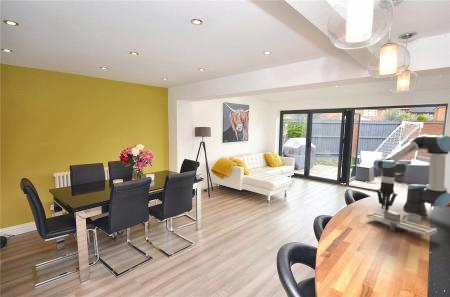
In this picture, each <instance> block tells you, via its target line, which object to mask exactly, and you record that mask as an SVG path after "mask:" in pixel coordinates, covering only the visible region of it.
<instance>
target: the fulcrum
mask: <svg viewBox="0 0 450 297" xmlns="http://www.w3.org/2000/svg"><path fill="white" fill-rule="evenodd" d="M400 220H404V221H407V219H406V218H405V219H402V218H400ZM402 230H404V229H403V228H400V227H397V226H396V224H395V223H393V222H390V224H389V231H390V232H391V233H395V234H396V232H399V231H402Z"/></svg>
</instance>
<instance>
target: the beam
mask: <svg viewBox="0 0 450 297" xmlns="http://www.w3.org/2000/svg"><path fill="white" fill-rule="evenodd" d="M366 218H369V219H372V220H374V221H379V222H381V223H383V224H388V225H390V222H393V223H395V224H396V226H397V227H400V228H403V229H402V230H407V231H409V232H412V233H416V234H419V235H422V236H426V237H431V236H432V235H433V234H436V233H438V228H435V227H434V228H432V227H428V226H425V225H422V224H420V225H418V224H414V223H411V222H407V221H404V220H401V219H400V222H397V221H393V220H390V219H386V218H384V215H383V214H382V213H379V212H378V211H372V212H369V213H367V214H366Z"/></svg>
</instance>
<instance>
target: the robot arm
mask: <svg viewBox="0 0 450 297" xmlns="http://www.w3.org/2000/svg"><path fill="white" fill-rule="evenodd" d="M419 150H426V152H427V154H428V155H429V165H428V166H429V168H428V172H429V173H428V185H426V184H419V183H411V184H408V185H407V190H406V191H407V194H406V201H405V203H404V205H403V207H402V210H403V211H404V212H407V213H413V214H417V215H420V216H425V215H427V214H428V213H427V212H428V210H427V208H426V204H430V205H433V206H435V207H440V208H443V207H446V206H448V205H449V203H450V193H449V192H448V189H447V188H446V187H445V182H446V181H445V178H446V177H445V176H446V174H445V173H446V157H447V155H449V152H450V136H448V135H444V134H420V135H418V136H415V137H413V138H410V139H409V140H407V141H406V142H405V144H403V145H402V146H401V147H399V148H397V149H396V150H394V151H392V152H391V153H390V154H388V155H387V156H385V157H384V158H382V159H375V160H374V161H373V168H375V169H377V170H381V178H380V179H381V181H380V187H379V189H376V193H377V198H378V203H379V204H380V205H381V210H382V213H381V214H383V215H384V211H389V209H390V207H392V206H393V204H394V202H395V200H396V197H397V196H398V193H395V190H394V188H395V187H394V186H395V177H396V174H407V173H409V171H410V170H411V169H410V165H409V164H408V163H407V162H400V161H401V160H403V159H405V157H407V156H409V155H410V154H412V153H413V152H414V153H415V152H417V151H419ZM391 195H392V196H391Z"/></svg>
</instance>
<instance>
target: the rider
mask: <svg viewBox="0 0 450 297" xmlns="http://www.w3.org/2000/svg"><path fill="white" fill-rule="evenodd" d="M384 218H386V219H390V220H393V221H397V222H400V220H401V213H398V212H394V211H391V210H388V211H384Z"/></svg>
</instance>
